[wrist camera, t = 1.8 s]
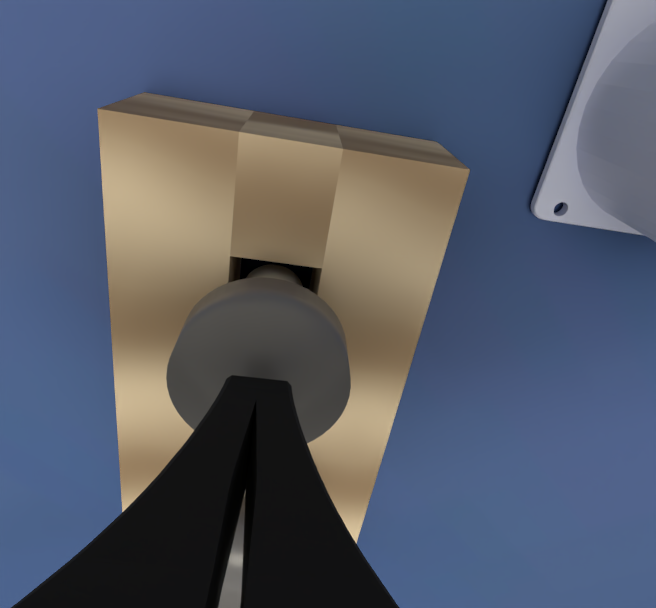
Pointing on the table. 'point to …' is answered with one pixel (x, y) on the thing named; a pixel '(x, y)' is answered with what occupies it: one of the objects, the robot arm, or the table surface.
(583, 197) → the robot arm
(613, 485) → the table surface
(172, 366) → the plunger
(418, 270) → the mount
